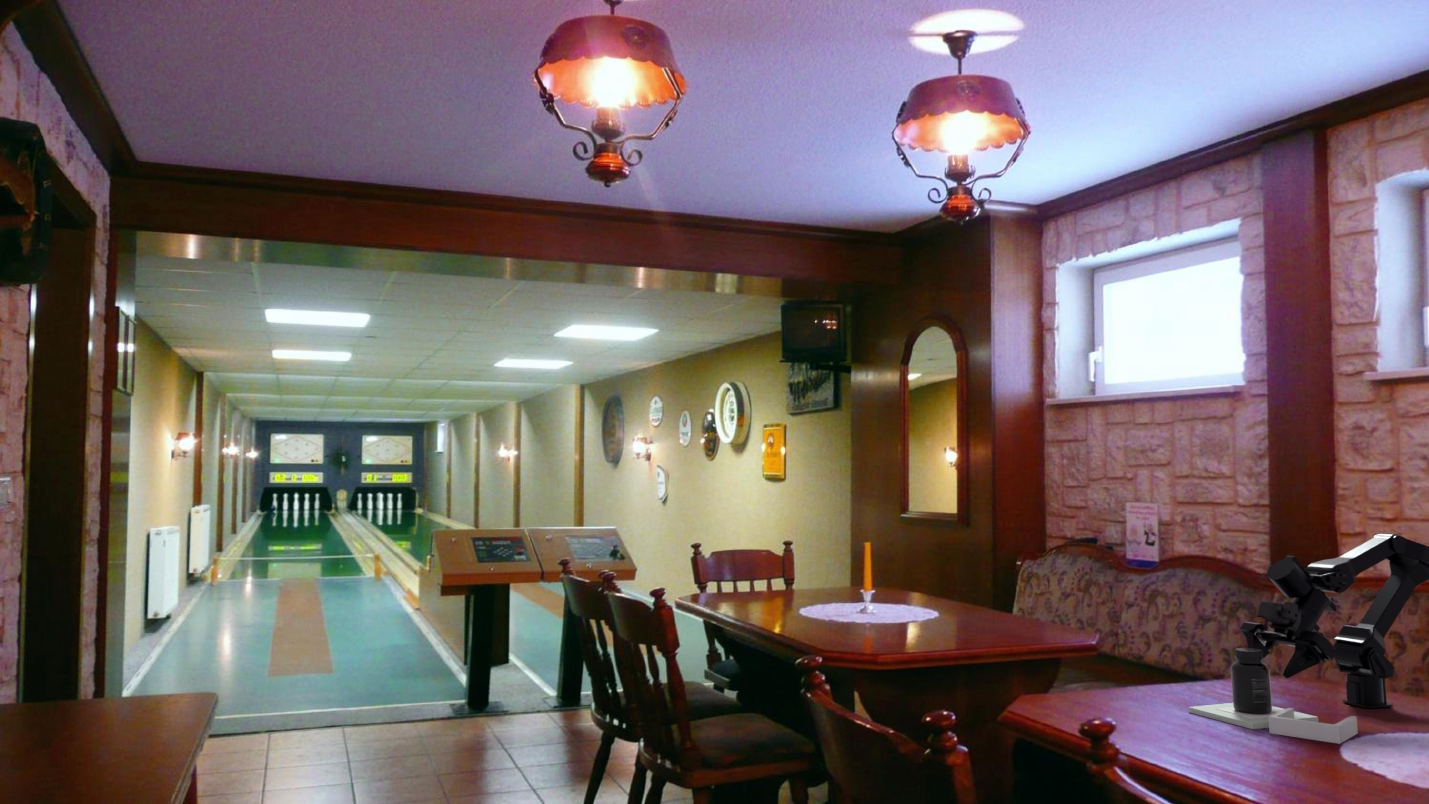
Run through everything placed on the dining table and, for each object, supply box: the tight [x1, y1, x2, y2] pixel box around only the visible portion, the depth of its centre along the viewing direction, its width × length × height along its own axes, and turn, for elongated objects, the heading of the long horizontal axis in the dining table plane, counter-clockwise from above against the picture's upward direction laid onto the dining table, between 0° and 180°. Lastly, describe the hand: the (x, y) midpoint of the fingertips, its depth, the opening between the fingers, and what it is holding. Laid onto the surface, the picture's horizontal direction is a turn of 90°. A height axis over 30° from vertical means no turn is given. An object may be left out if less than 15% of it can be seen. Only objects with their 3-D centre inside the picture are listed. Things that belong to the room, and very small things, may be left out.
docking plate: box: [1188, 702, 1319, 730], centre depth 201 cm, size 16×16×1 cm
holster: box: [1268, 707, 1359, 745], centre depth 187 cm, size 10×12×3 cm
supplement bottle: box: [1230, 647, 1273, 714], centre depth 202 cm, size 7×7×12 cm
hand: (1265, 672), depth 203 cm, fingers open, 9 cm apart
